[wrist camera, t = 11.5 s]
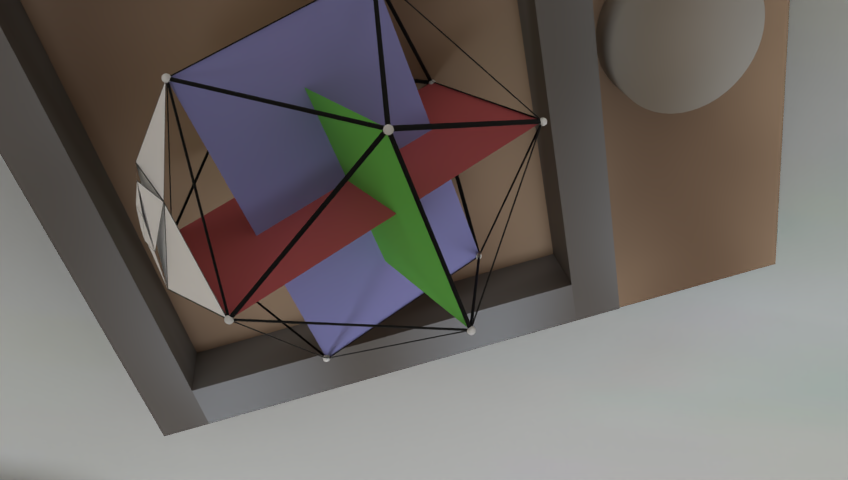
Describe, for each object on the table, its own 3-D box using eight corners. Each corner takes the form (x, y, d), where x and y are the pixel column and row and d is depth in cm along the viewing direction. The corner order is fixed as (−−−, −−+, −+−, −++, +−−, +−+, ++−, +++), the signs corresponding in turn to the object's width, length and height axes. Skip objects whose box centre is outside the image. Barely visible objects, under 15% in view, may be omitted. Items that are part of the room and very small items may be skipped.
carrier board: (782, -437, 14) (869, -473, 12) (756, 245, 23) (805, 293, 21) (-151, -204, 14) (-227, -200, 12) (181, 406, 22) (172, 472, 20)
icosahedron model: (540, -108, 14) (309, 125, 8) (614, 198, 17) (483, 492, 12) (254, -36, 18) (-26, 154, 12) (363, 202, 21) (183, 426, 16)
